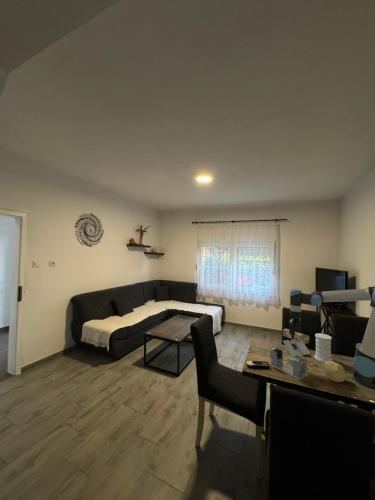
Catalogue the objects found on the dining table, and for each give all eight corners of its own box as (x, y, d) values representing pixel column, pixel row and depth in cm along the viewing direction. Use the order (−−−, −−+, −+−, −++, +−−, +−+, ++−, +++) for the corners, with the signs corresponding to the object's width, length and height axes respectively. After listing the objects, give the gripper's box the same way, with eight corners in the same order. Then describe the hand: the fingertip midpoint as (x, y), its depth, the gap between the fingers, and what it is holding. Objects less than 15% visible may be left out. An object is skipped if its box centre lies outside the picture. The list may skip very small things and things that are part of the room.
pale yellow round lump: (320, 374, 142) (320, 358, 143) (337, 374, 142) (337, 358, 143) (331, 384, 131) (331, 367, 131) (350, 384, 131) (350, 367, 131)
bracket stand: (307, 375, 140) (307, 359, 140) (300, 380, 135) (300, 363, 135) (276, 361, 158) (276, 347, 158) (269, 365, 153) (269, 350, 153)
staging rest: (305, 367, 150) (305, 363, 150) (302, 369, 148) (302, 364, 148) (291, 361, 159) (291, 357, 159) (288, 362, 157) (288, 358, 157)
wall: (308, 358, 172) (299, 340, 184) (311, 353, 167) (301, 335, 178) (289, 361, 172) (281, 343, 184) (291, 356, 166) (283, 338, 178)
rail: (309, 342, 147) (309, 335, 147) (305, 343, 144) (305, 337, 144) (286, 334, 161) (286, 328, 161) (282, 335, 159) (282, 329, 159)
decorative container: (312, 354, 170) (312, 332, 171) (328, 356, 167) (328, 334, 167) (317, 361, 159) (317, 337, 159) (334, 364, 156) (334, 339, 156)
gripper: (296, 307, 161) (296, 338, 161) (283, 311, 151) (283, 343, 151) (306, 310, 155) (306, 341, 155) (294, 313, 145) (293, 347, 145)
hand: (295, 342), depth 153 cm, fingers closed on rail, 4 cm apart
